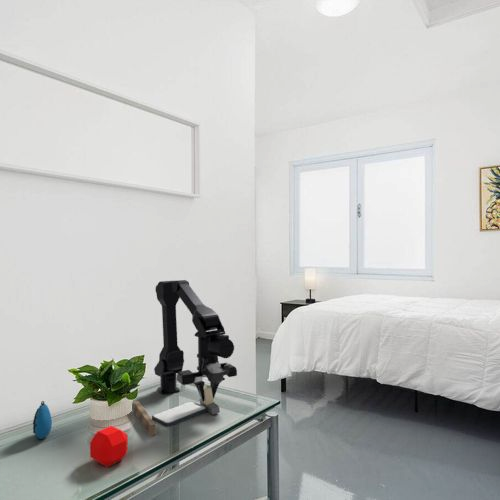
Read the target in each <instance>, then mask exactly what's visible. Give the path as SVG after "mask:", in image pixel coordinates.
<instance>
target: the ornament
mask: <svg viewBox="0 0 500 500" xmlns="http://www.w3.org/2000/svg"><path fill="white" fill-rule="evenodd" d="M52 423H53V421H52V414H51V411H50V409H49V406H48V405H47V404H46V403H45V401H44V400H42V401H41V403H40V405H39V406H38V408H37V409H36V412H35V413H34V417H33V422H32V425H33V426H32V430H33V434H34V437H36V438H38V439H39V440H40V439H41V440H43V439H45V438H47V436H49V434H50V433H51V430H52V426H53V425H52Z"/></svg>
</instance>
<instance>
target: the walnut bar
mask: <svg viewBox="0 0 500 500" xmlns="http://www.w3.org/2000/svg"><path fill="white" fill-rule="evenodd" d="M133 413H134V414H135V415H136V417H137V419H138V420H139V421H140V423H141V425H142V426H143V427H144V429H145V430H146V432H147V434H148V435H149V436H150V437H152V436H155V435H156V422H155V421H153V420H152V416H150V414H149V413H148V412H147V410H146V409H145V408H144V406H143V405H142V404H141V403H140V400H135V401H133Z"/></svg>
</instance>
